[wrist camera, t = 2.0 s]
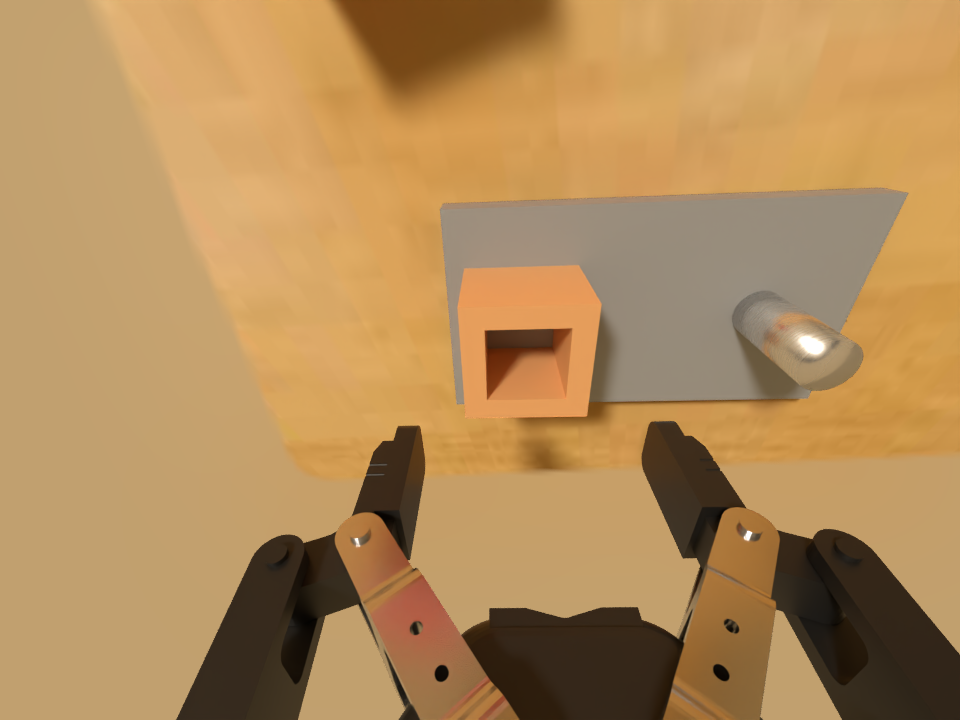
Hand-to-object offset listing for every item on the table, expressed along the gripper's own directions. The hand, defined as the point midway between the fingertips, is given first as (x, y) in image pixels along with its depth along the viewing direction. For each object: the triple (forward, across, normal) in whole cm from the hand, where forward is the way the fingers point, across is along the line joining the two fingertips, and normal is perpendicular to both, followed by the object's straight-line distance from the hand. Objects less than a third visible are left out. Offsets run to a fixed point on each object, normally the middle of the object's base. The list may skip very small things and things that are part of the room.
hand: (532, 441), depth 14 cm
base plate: (+11, -7, 0) cm, 13 cm away
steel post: (+11, -13, 0) cm, 17 cm away
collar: (+10, 0, 0) cm, 10 cm away
